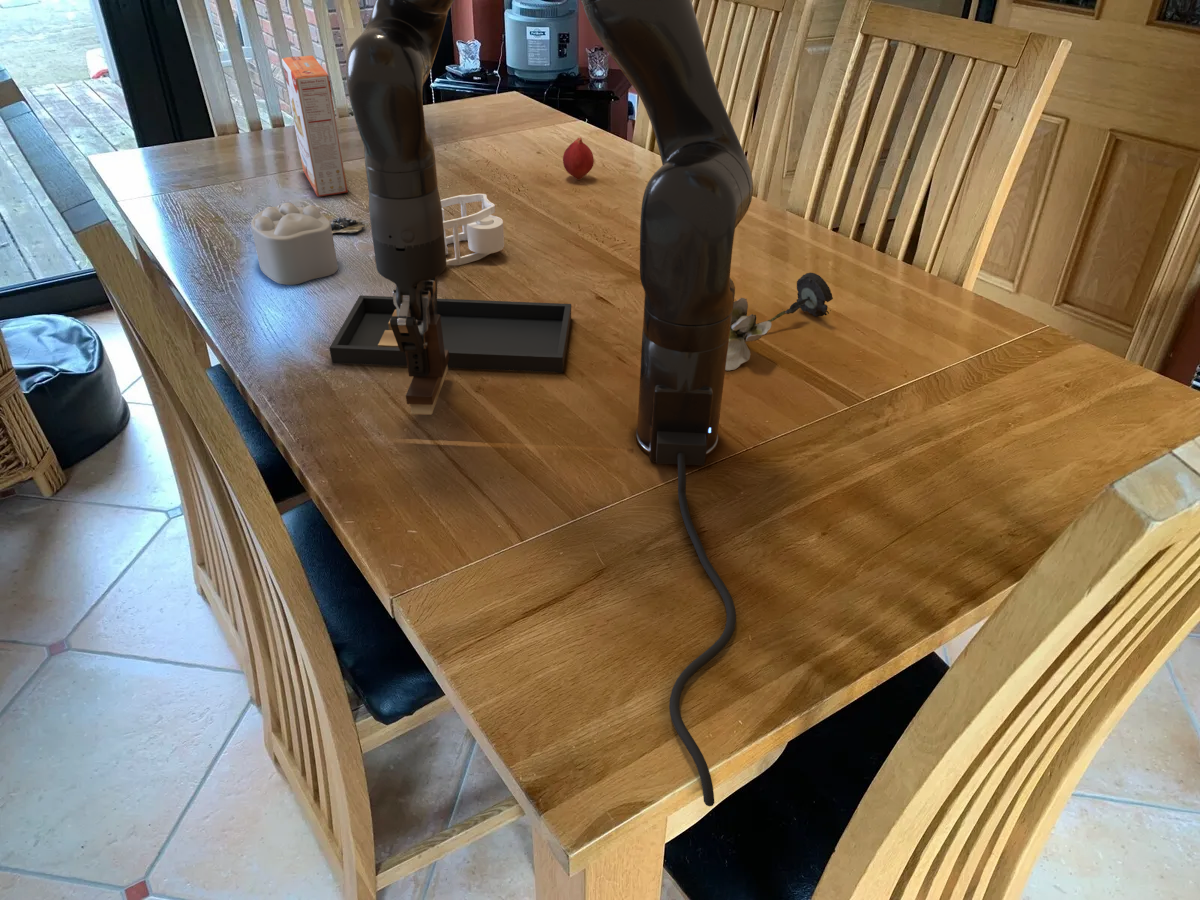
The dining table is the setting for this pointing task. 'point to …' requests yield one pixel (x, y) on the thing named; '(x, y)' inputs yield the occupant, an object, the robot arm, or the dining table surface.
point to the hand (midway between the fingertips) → (422, 367)
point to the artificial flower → (745, 327)
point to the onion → (578, 159)
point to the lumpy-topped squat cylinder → (294, 243)
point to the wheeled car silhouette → (473, 229)
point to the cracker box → (315, 124)
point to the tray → (465, 334)
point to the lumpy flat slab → (346, 225)
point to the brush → (429, 387)
